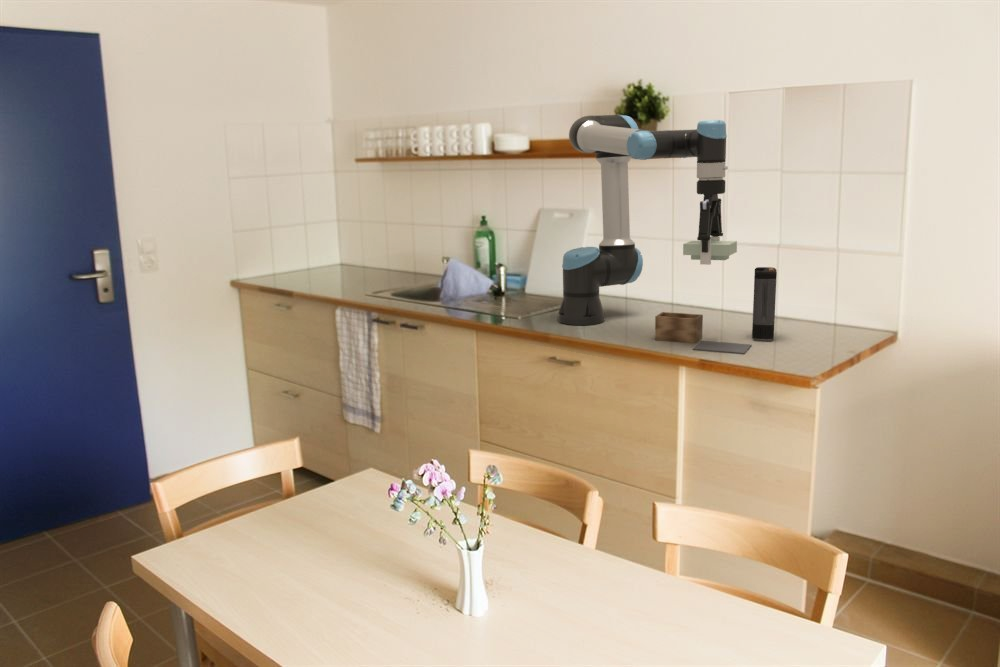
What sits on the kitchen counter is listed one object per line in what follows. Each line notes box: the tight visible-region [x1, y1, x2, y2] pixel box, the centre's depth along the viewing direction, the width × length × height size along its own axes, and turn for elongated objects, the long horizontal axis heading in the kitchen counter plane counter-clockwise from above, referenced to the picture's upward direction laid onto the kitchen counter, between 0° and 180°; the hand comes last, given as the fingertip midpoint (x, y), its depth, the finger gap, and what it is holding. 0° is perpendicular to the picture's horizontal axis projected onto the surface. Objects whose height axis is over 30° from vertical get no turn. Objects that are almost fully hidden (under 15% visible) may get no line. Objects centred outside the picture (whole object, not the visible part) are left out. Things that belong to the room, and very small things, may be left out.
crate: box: [654, 311, 704, 344], centre depth 245 cm, size 12×7×7 cm, turn 63°
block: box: [682, 240, 738, 261], centre depth 232 cm, size 12×9×4 cm
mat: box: [692, 340, 753, 355], centre depth 235 cm, size 14×10×1 cm
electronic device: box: [751, 266, 778, 342], centre depth 243 cm, size 9×6×20 cm, turn 163°
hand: (710, 262), depth 233 cm, fingers closed on block, 9 cm apart
